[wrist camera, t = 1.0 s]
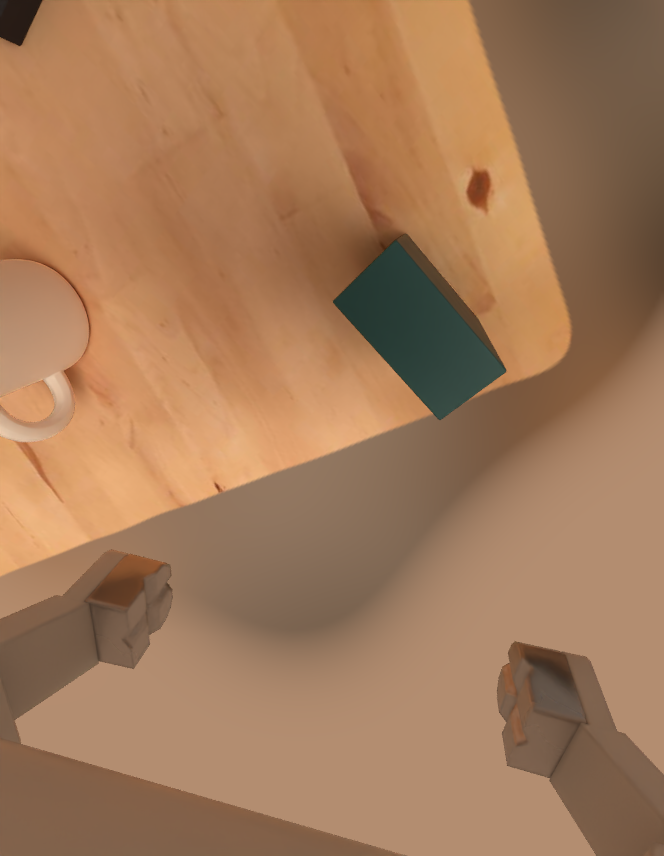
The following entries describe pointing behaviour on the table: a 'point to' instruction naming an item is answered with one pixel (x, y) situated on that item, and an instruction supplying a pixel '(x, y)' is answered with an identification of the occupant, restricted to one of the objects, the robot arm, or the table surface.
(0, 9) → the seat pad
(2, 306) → the mug
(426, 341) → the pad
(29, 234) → the table surface
